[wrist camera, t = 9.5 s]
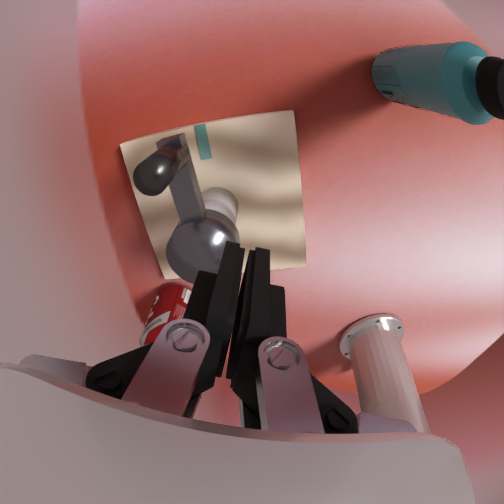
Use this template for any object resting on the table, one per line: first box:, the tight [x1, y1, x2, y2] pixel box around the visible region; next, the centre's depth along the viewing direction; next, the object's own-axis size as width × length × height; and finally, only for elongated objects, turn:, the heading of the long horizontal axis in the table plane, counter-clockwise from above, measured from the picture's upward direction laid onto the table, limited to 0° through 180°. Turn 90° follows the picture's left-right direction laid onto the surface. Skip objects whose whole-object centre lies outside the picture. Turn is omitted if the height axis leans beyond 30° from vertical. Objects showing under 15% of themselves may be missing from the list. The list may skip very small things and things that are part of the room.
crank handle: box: [133, 132, 240, 284], centre depth 23 cm, size 14×6×7 cm, turn 11°
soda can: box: [140, 283, 192, 347], centre depth 39 cm, size 7×7×12 cm
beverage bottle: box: [372, 42, 504, 125], centre depth 17 cm, size 6×7×20 cm
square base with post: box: [120, 110, 307, 279], centre depth 32 cm, size 20×20×8 cm
